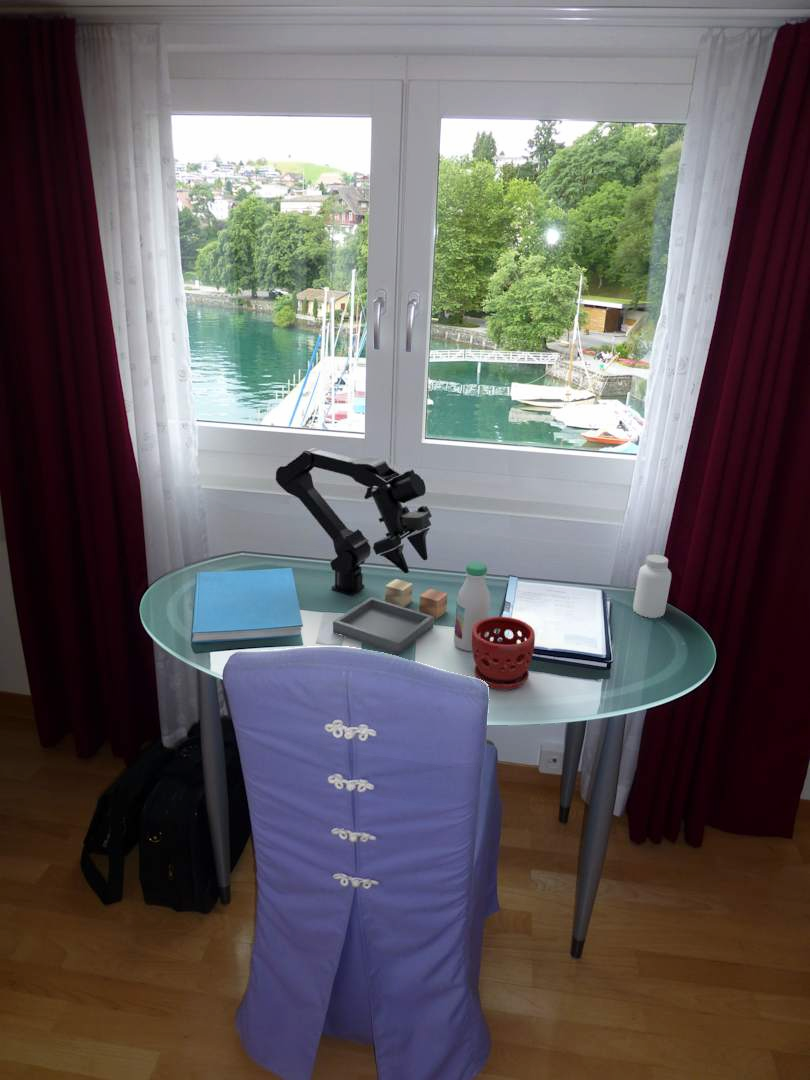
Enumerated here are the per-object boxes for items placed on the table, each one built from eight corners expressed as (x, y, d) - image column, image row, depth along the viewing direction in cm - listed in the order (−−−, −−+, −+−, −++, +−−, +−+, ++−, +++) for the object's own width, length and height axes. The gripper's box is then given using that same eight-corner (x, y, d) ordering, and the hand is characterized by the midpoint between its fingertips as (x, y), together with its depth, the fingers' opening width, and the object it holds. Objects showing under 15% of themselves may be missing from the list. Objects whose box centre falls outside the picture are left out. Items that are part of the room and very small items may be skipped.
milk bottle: (490, 640, 191) (497, 562, 184) (482, 655, 184) (489, 574, 177) (458, 633, 193) (464, 556, 186) (449, 648, 187) (455, 568, 179)
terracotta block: (419, 613, 202) (420, 595, 200) (428, 606, 206) (429, 588, 204) (436, 619, 200) (437, 601, 198) (446, 611, 204) (447, 593, 202)
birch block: (385, 603, 207) (385, 585, 205) (395, 596, 211) (396, 578, 209) (401, 608, 205) (402, 590, 203) (411, 601, 209) (412, 583, 207)
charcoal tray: (332, 632, 191) (333, 621, 190) (370, 607, 204) (370, 597, 203) (398, 655, 183) (398, 643, 182) (433, 627, 196) (433, 616, 194)
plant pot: (490, 657, 184) (495, 609, 179) (541, 678, 176) (547, 629, 172) (456, 679, 174) (460, 629, 170) (508, 703, 167) (513, 651, 162)
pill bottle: (630, 615, 207) (639, 560, 201) (634, 602, 214) (643, 549, 208) (662, 621, 204) (672, 567, 198) (666, 608, 211) (675, 555, 205)
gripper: (395, 510, 187) (423, 571, 189) (434, 488, 202) (459, 545, 204) (360, 524, 194) (387, 583, 196) (400, 501, 209) (425, 556, 210)
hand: (416, 566), depth 201 cm, fingers open, 9 cm apart
